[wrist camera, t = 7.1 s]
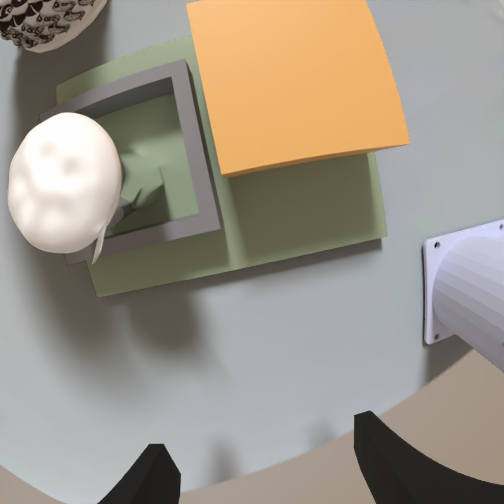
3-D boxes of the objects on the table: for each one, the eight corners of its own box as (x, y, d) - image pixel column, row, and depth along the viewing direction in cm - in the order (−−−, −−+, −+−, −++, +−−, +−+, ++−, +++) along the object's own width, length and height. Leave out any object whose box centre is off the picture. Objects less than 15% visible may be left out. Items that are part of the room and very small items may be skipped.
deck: (332, 24, 15) (362, -25, 9) (380, 233, 18) (433, 254, 12) (63, 89, 15) (10, 65, 10) (103, 292, 18) (58, 331, 13)
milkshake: (152, 248, 17) (60, 320, 7) (87, 190, 16) (-41, 204, 6) (203, 184, 16) (149, 183, 7) (132, 126, 15) (24, 75, 6)
